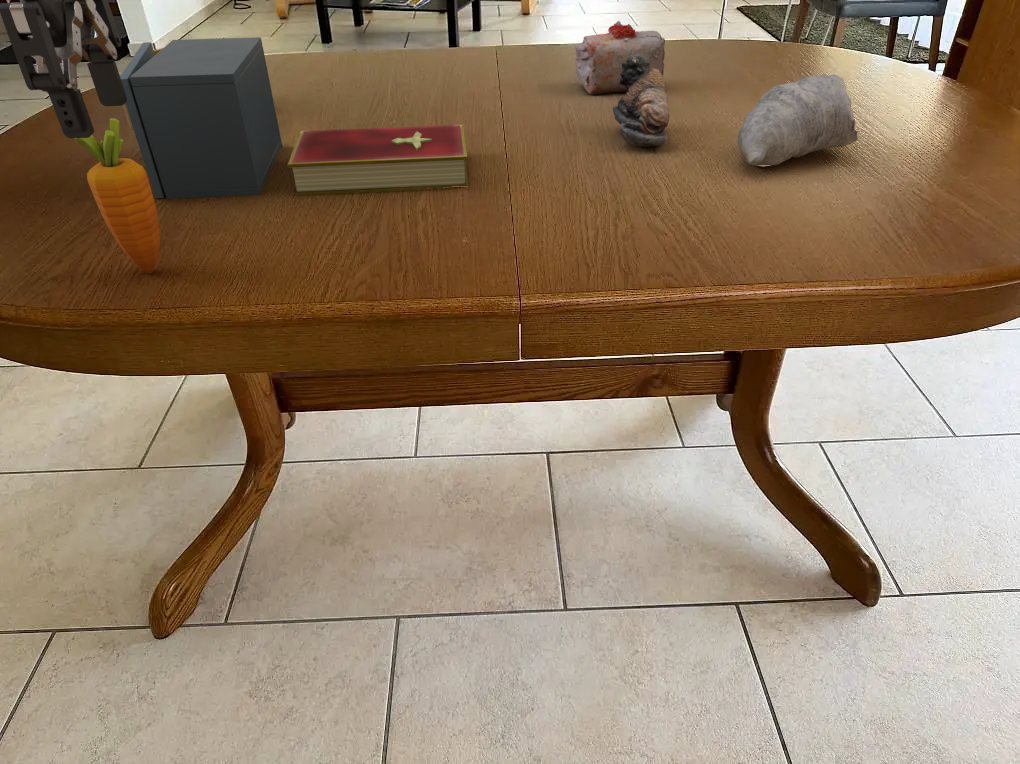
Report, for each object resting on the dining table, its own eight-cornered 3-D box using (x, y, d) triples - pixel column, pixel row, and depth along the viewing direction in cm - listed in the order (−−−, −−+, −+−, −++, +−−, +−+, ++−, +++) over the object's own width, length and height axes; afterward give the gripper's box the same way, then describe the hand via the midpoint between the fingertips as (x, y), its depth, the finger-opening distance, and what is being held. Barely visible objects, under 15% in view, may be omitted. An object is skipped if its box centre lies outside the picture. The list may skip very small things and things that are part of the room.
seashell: (742, 181, 91) (758, 98, 85) (717, 140, 103) (729, 64, 97) (873, 180, 91) (898, 97, 85) (833, 139, 103) (853, 63, 97)
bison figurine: (676, 151, 99) (686, 73, 93) (625, 155, 99) (632, 76, 92) (649, 123, 109) (657, 50, 103) (602, 125, 108) (607, 52, 102)
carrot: (123, 290, 71) (65, 135, 62) (124, 267, 75) (69, 117, 66) (177, 280, 73) (128, 127, 64) (175, 258, 77) (129, 110, 67)
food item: (584, 98, 119) (587, 31, 113) (571, 84, 125) (574, 20, 119) (665, 92, 121) (672, 26, 115) (648, 79, 127) (655, 16, 121)
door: (118, 202, 87) (76, 81, 79) (142, 152, 101) (107, 44, 92) (164, 198, 88) (127, 78, 80) (181, 148, 102) (151, 41, 93)
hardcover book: (306, 159, 98) (300, 127, 96) (464, 152, 100) (462, 121, 97) (293, 196, 89) (287, 162, 86) (468, 188, 90) (467, 154, 88)
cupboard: (166, 199, 88) (128, 77, 80) (201, 149, 102) (172, 39, 93) (260, 195, 89) (232, 73, 81) (282, 145, 103) (261, 37, 94)
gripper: (12, -107, 60) (84, 97, 70) (-84, -90, 49) (18, 151, 59) (107, -109, 61) (165, 94, 71) (33, -93, 50) (115, 147, 59)
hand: (98, 120), depth 65 cm, fingers open, 8 cm apart
